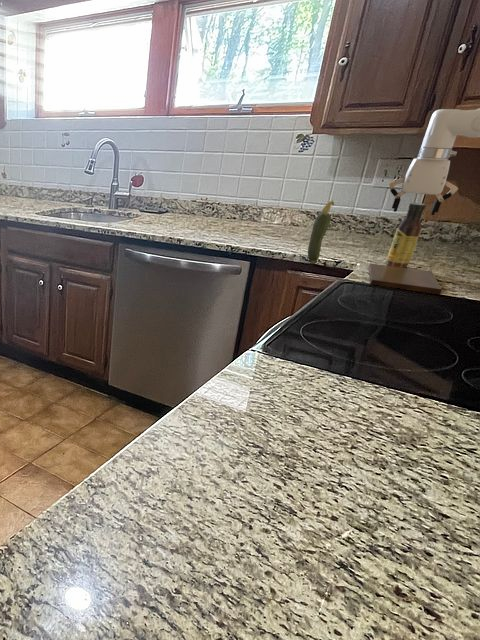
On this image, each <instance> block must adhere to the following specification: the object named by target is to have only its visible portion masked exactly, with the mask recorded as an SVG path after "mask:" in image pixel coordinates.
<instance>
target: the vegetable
mask: <svg viewBox="0 0 480 640" xmlns="http://www.w3.org/2000/svg"><path fill="white" fill-rule="evenodd" d="M334 205H335V202H334V200H330V201H328V202H327V203H326V204H325V206H324V207H323V208H322V210H321V212H320V213H319V214H318V215H317V216H316V217H315V220H314V223H313V225H312V230H311V234H310V238H309V242H308V247H307V258H308V260H309V262H310V263H311V264H313V265H314V264H315V263H317V262H318V259H320V253H321V247H322V243H323V239H324V237H325V236H326V233H327V231H328V229H329V227H330V224H331V220H332V217H331V214H330V213H329V212H330V211H331V208H332V206H334Z"/></svg>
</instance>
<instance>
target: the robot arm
mask: <svg viewBox="0 0 480 640" xmlns="http://www.w3.org/2000/svg"><path fill="white" fill-rule="evenodd" d="M457 136H461V137H465V138H473V139H477V138H480V107H478V108H476V109H469V110H468V109H465V110H462V109H459V108H454V109H453V108H441V109H436V110H435V111H433V113H432V114H431V116H430V119H429V123H428V125H427V128H426V131H425V134H424V137H423V140H422V142H421V143H422V144H421V146H420V148H419V151H418V154H417V157H416V158H413V159H412V161H411V163H410V165H409V167H408V169H407V171H406V173H405V176H404V177H402V178H399V179H395V180H393V181H390V182H389V183H388V186H389V190H390V193H391V194H392V196H393V197H394V200H393V202H392V205H391V209H392V210H393V213H396V212H398V209H399V206H400V203H401V197H402V196H404V195H405V194H418V195H428V196H429V195H430V196H434V197H435V198H436V199H435V200H434V202H433V205H432V208H431V210H430V215H431V216H435V214H436V213H439V210H440V207H441V205H442V203H443V202H444V201H446V200H447V199H450V197H452V196H453V195H454V194H455V193H457V191H458V190H459V187H458V186H457V185H455V184H453V183H451V182H449V181H448V180H447V178H448V175H449V171H450V165H451V160H449V159H450V158H451V157H456V156H457V153H458V151H454V150H453V148H454V144H455V141H456V139H457ZM400 184H402V185H401V190H399V191H397V190H396V186H397V185H400ZM445 187H447V188H448V189H449V191H448V192H447V193H445V194H442V192H443V191H444V188H445Z"/></svg>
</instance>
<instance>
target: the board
mask: <svg viewBox="0 0 480 640" xmlns="http://www.w3.org/2000/svg"><path fill="white" fill-rule="evenodd" d="M367 269H368V276H369V277H368V278H369V284H371V286H375V285H379V286H378V287H383V286H386V288H390V287H393V288H392V289H397V288H400V289H399V290H404V289H406V290H405V291H411V290H412V292H419V293H425V292H426V294H434V295H441V294H442V291H443V288H442V287H441V284H440V283H439V281H438V280H437V278H436V276H435V275H434V273H433V271H432V270H427V269H418V268H410V267H405V268H403V267H395V266H389V265H387V264H378V263H369V264H368V267H367Z"/></svg>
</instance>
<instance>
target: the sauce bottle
mask: <svg viewBox="0 0 480 640" xmlns="http://www.w3.org/2000/svg"><path fill="white" fill-rule="evenodd" d="M426 206H427V205H426V204H425V203H421V202H410V203H409V205H408V209H407V213H406V215H405V217H404V218H403V220H402V221H401V222H400V224H399V225H398V226H397V227H396V230H395V233H394V236H393V238H392V242H391V245H390V247H389V250H388V253H387V256H386V261H385V265H386V266H395V267H403V268H408V266H409V264H410V263H411V259H412V256H413V254H414V251H415V248H416V245H417V243H418V240H419V238H420V233H421V231H422V228H423V226H422V222H421V219H422V215H423V212H424V211H425V208H426Z"/></svg>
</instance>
